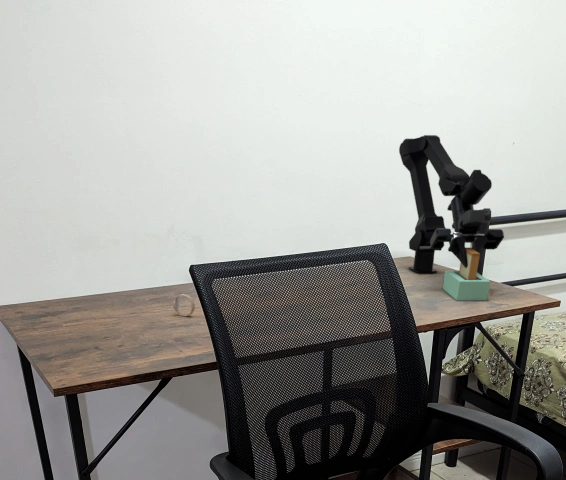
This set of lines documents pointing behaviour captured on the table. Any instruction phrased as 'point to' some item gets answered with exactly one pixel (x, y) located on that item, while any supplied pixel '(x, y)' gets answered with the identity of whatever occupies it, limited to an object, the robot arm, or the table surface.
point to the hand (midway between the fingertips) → (470, 266)
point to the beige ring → (176, 305)
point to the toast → (470, 265)
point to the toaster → (466, 286)
